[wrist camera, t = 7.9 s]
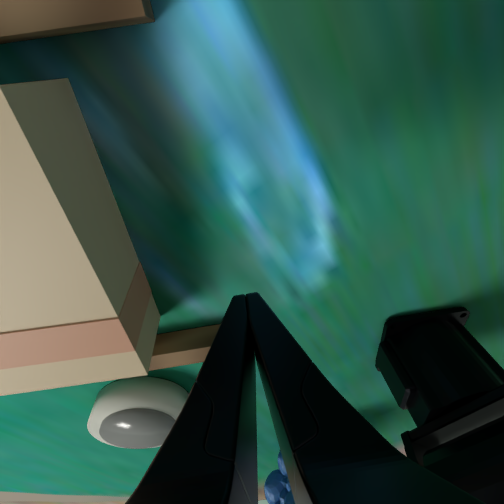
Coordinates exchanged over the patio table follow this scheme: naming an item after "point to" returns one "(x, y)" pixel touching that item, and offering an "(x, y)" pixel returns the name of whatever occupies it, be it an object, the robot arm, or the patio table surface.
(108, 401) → the push light
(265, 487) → the grapes
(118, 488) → the patio table surface
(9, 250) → the carton
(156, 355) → the display bay
